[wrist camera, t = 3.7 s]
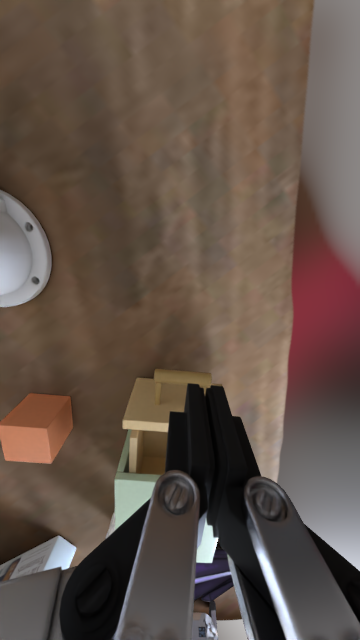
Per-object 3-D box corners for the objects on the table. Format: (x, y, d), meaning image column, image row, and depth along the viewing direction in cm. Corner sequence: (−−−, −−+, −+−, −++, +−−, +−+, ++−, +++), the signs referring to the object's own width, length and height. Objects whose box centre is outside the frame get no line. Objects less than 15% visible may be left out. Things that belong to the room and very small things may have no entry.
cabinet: (132, 415, 31) (114, 479, 22) (217, 421, 31) (231, 486, 23) (130, 483, 36) (115, 558, 27) (204, 488, 36) (211, 563, 28)
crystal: (248, 583, 34) (124, 603, 33) (243, 606, 39) (135, 625, 38) (234, 526, 41) (130, 541, 40) (231, 552, 46) (138, 566, 44)
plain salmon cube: (29, 392, 30) (-4, 425, 24) (70, 396, 30) (46, 428, 25) (34, 424, 32) (5, 460, 26) (73, 427, 32) (51, 463, 26)
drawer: (137, 348, 27) (122, 383, 20) (227, 355, 27) (243, 392, 20) (134, 452, 32) (121, 508, 25) (208, 457, 33) (215, 514, 26)
